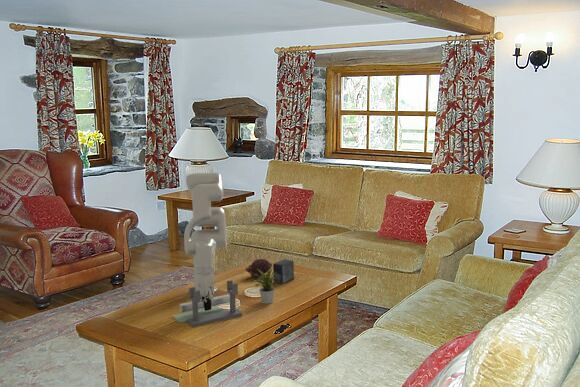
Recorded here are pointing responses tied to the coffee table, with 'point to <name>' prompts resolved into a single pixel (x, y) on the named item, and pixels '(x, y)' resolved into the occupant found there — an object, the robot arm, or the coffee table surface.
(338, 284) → the coffee table surface
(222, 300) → the steel rail
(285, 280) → the small box
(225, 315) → the grey base with uprights
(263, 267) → the pine cone
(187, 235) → the robot arm
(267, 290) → the house plant
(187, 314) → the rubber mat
